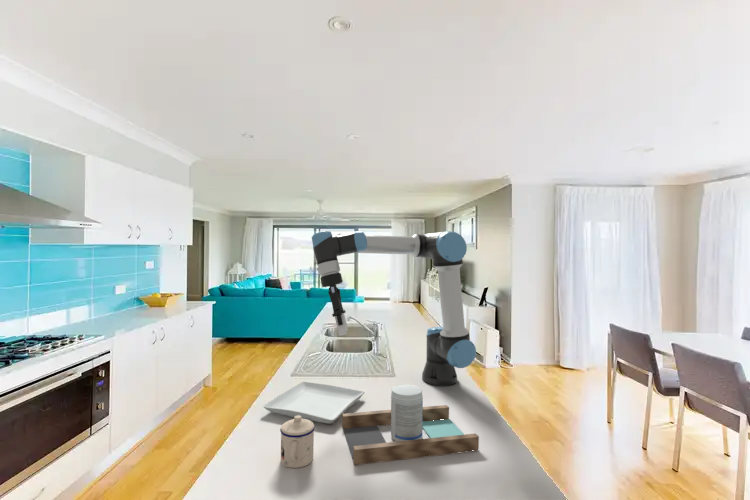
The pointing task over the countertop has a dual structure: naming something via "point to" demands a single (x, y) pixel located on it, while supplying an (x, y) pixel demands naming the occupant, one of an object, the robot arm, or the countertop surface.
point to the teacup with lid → (297, 442)
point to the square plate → (314, 402)
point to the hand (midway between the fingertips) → (343, 333)
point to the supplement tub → (406, 413)
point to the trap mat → (363, 436)
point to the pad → (441, 428)
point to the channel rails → (409, 447)
